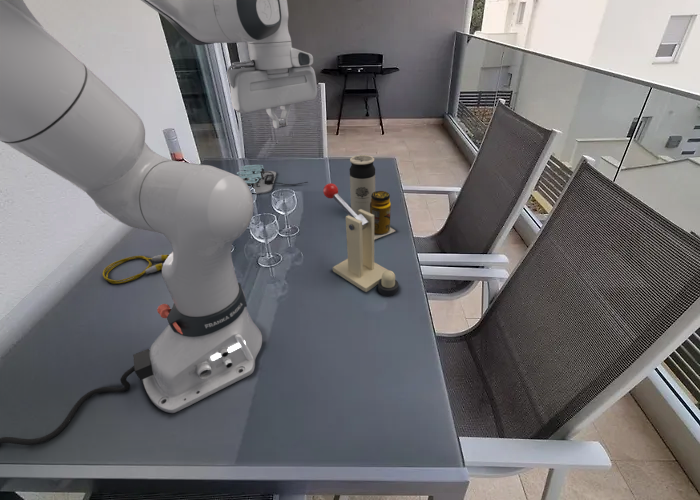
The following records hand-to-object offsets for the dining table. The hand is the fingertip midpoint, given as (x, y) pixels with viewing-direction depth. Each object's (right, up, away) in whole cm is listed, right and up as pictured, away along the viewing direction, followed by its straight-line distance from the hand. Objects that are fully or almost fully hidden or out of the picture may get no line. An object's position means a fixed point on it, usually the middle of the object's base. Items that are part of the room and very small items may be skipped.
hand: (280, 127), depth 80 cm
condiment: (+24, -23, +26) cm, 42 cm away
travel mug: (+20, -15, +37) cm, 45 cm away
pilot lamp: (+25, -38, +4) cm, 45 cm away
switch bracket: (+19, -34, +9) cm, 40 cm away
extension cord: (-42, -34, +14) cm, 56 cm away
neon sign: (-15, -1, +60) cm, 62 cm away
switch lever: (+14, -19, +4) cm, 24 cm away
